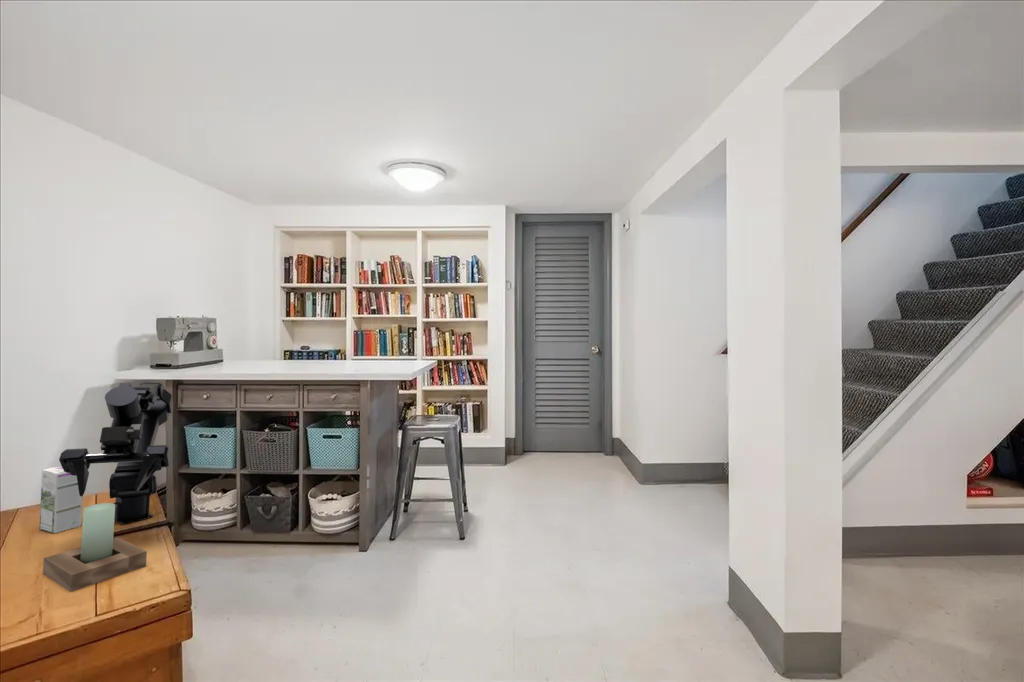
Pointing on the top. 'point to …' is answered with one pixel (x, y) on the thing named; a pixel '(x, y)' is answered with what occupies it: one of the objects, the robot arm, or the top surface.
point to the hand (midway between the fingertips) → (108, 493)
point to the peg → (97, 532)
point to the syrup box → (59, 501)
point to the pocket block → (93, 565)
